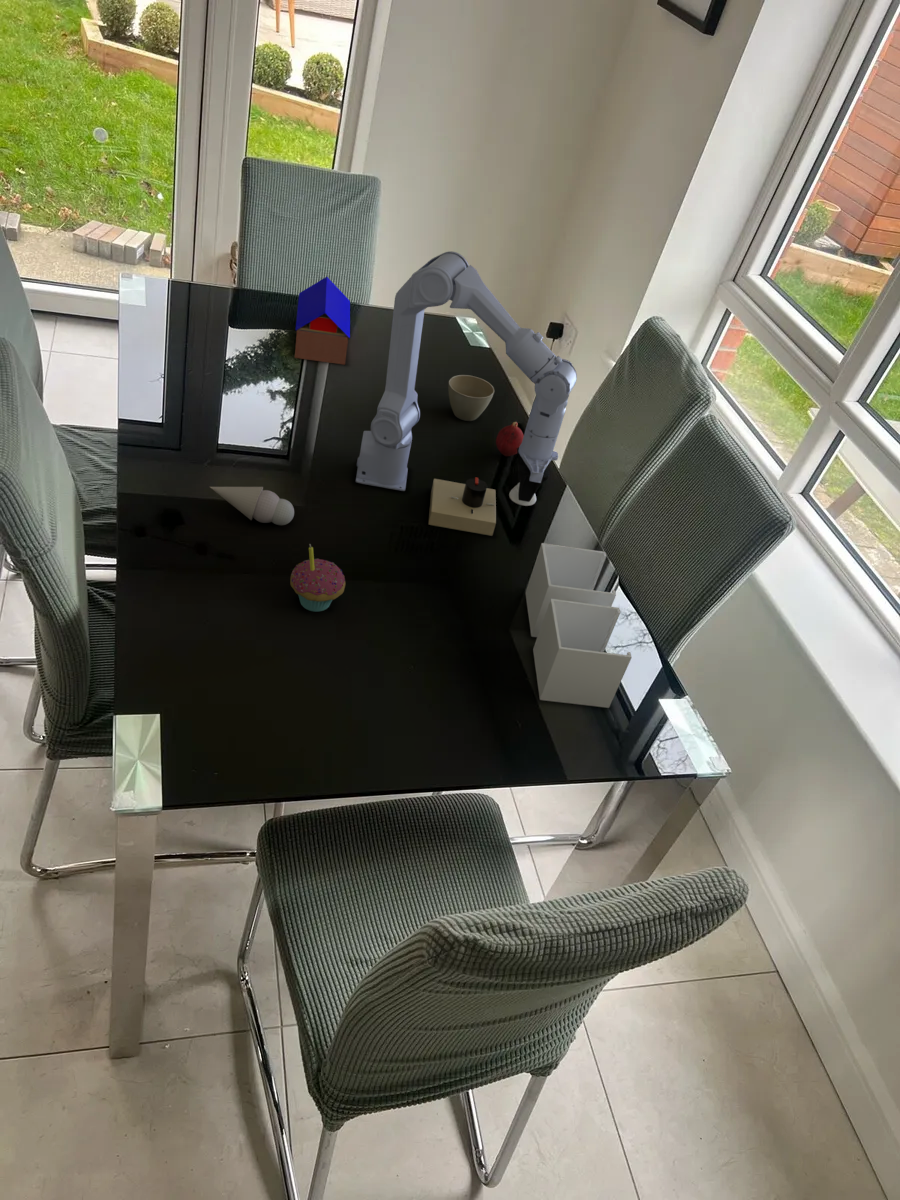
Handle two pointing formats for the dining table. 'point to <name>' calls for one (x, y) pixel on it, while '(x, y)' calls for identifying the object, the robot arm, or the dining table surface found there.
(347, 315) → the house
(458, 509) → the panel
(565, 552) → the storage container
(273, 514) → the ice cream cone
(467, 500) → the knob
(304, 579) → the cupcake
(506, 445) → the onion
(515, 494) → the white jar
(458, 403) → the flower pot
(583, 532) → the dining table surface
